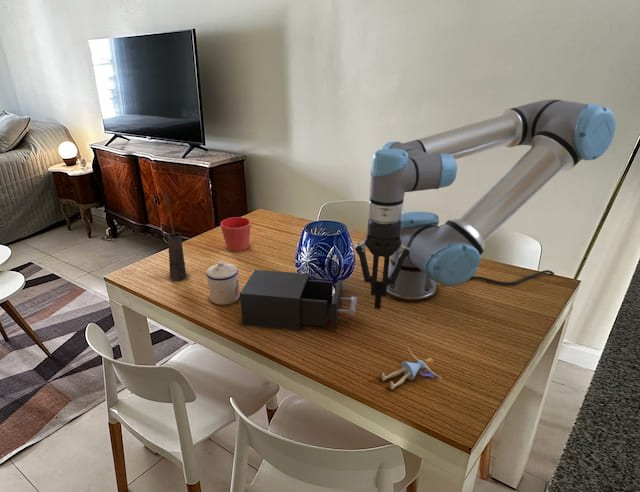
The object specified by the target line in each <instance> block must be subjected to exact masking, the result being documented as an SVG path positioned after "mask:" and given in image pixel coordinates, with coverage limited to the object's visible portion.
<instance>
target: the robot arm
mask: <svg viewBox="0 0 640 492" xmlns="http://www.w3.org/2000/svg"><path fill="white" fill-rule="evenodd" d="M616 123H617V122H616V117H615V114H614V112H613V111H612V110H611V109H610V108H608V107H607V106H604V105H598V104H596V103H589V104H587V103H582V102H576V101H569V100H562V99H553V98H551V99H543V100H538V101H534V102H529V103H526V104H522V105H519V106H514V107H511V108H508V109H505V110H503V111H501V112H500V114H499V115H498V116H495V117H491V118H488V119H487V118H486V119H484V120H480V121H477V122H474V123H470V124H466V125H462V126H460V127H457V128H453V129H450V130H445V131H442V132H439V133H435V134H432V135H428V136H424V137H421V138H418V139H414V140H409V141H407V142H402V141H401V142H400V141H389V142H386V143H385V144H384V145H383V146H382V147H381V149H378V150H376V151H375V152H374V153H373V155H372V161H371V168H370V186H369V187H370V188H369V200H368V201H369V202H368V220H367V230H366V231H367V232H366V237H365V238H364V241H362V242H356V244H355V247H354V248H355V249H354V250H355V252H356V253H357V255H358V257H359V262H360V266H361V271H362V276H363V281H364V282H365V283H368V284H370V285H371V286H370V295H371V296H372V297H374V309H375V310H381V308H382V307H381V306H382V297H383V298H384V297H387V296H389V297H391V298H393V299H396V300H399V301H403V302H423V301H427V300H430V299H431V298H433V297H434V296H435V295H436V291H437V284H438V285H441V286H445V287H451V286H452V287H455V286H460V285H462V284H465V283H466V282H467V281H469V280H481V281H482V280H483V281H487V282H490V283H493V284H496V285H497V284H498V285H502V286H503V285H504V286H508V285H509V286H513V285H517V284H519V283H522V282H523V281H526V280H528V279H531V278H534V277H538V276H539V275H542V274H545V273H546V274H547V273H548V274H550V275H551V276H555V274H556V273H554V271H552V270H548V269H545V270H541V271H538V272H536V273H534V274H530V275H527V276H523V277H522V278H520V279H518V280H516V281H515V280H514V281H500V280H495V279H491V278H488V277H483V276H477V275H476V273H477V272H478V270H479V266H480V265H481V256H482V254H483V253H484V252H485V244H486V241H488V240H489V239H490V238H491V237H492V236H493V235H494V234H495V233H496V232H498V230H499V229H501V227H502V226H504V225H505V223H507V222H508V221H509V220H510V219H511V218H512V217H513V216H514V215H515V214H516V213H517V212H518V211H519V210H520V209H521V208H522V207H524V206H525V205H526V204H527V203H528V202H529V201H530V200H531V199H532V198H533V197H534V196H535V195H536V194H538V192H540V191H541V189H543V188H544V187H545V186H546V185H547V184H548V183H549V182H550V181H551V180H552V179H553V178H554V177H555V176H557V174H559V172H569V171H571V170H572V169H573V168H574V167H576V165H577V164H578V163H580V162H581V161H582V160H583V161H594V160H596V159H598V158H600V157H601V156H603V155H604V154H605V153H606V151H607V150H609V147H610V146H611V144H612V142H613V140H614V137H615V132H616V127H617V125H616ZM503 146H504V147H506V148H514V147H518V146H529V147H530V149H529V150H527V151H526V152H525V153H524V154H523V156H521V157H520V158H519V159H518V160H517V161H516V162H515V163H514V164H513V165H512V166H511V167H510V168H509V169H508V170H507V171H506V172H505V173H504V174H503V175H502V176H501V177H499V179H497V181H495V182H494V183H493V184H492V186H491V187H490V188H488V189H487V190H486V191H485V192H484V193H483V194H482V195H481V196H480V197H479V198H478V199H477V200H476V201H475V202H474V203H473V204H472V205H471V206H470V207H469V208H467V210H465V211H464V212H463V213H462V214H461V216H459V218H458V217H457V218H450V219H448V220H447V221H445V222H444V223H443V224H442V225H441V226H439V223H440V217H439V216H438V215H437V213H433V212H431V211H407V212H403V208H404V199H405V193H412V192H419V191H428V190H438V189H442V188H446V187H447V188H448V187H450V186H452V184H453V183H454V182H455V180H456V178H457V172H458V166H457V165H458V164H457V162H456V160H459V159H462V158H463V159H464V158H465V157H470V156H473V155H476V154H480V153H482V152H486V151H489V150H493V149H496V148H501V147H503ZM366 250H369V253H371V254H372V256H373V257H372V272H371V274H370V270H369V264H368V260H367V259H368V258H367V256H366V255H367V254H366ZM381 257H383V269H382V270H383V271H382V280H381V281H380V280H378V272H379V259H380V258H381Z"/></svg>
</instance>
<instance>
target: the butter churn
mask: <svg viewBox="0 0 640 492" xmlns="http://www.w3.org/2000/svg"><path fill="white" fill-rule="evenodd" d="M165 199H166V204H167V210H168V213H169V214H168V215H169V221H170V227H171V233H170V232H169V233H168V234H167V243H168V262H169V278H170V280H172V281H181V280H183V279H184V278H186V277H187V271H186V262H185V256H184V255H185V254H184V248H183V242H182V235H181V233H180V232H175V229H174V225H173V218H172V213H171V205H170V200H169V195H168V190H165Z"/></svg>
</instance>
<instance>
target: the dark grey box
mask: <svg viewBox="0 0 640 492" xmlns="http://www.w3.org/2000/svg"><path fill="white" fill-rule="evenodd" d="M308 279H309V280H310V273H307V272H306V273H304V272H292V271H277V270H264V269H254V270H253V271H252V273H251V275H250V276H249V278H248V280H247V281H246V283H245V284H244V286H243V287H242V289H241V290H240V291H239V294H240V296H239V301H240V311H241V312H240V313H241V321H242V325H246V326H252V327H253V326H254V327H261V328H262V327H264V328H272V329H283V330H291V331H301V328H302V326H303V324H300V298H301V296H302V293H303V291H304V288H305V285H306V283H307V280H308Z"/></svg>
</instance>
